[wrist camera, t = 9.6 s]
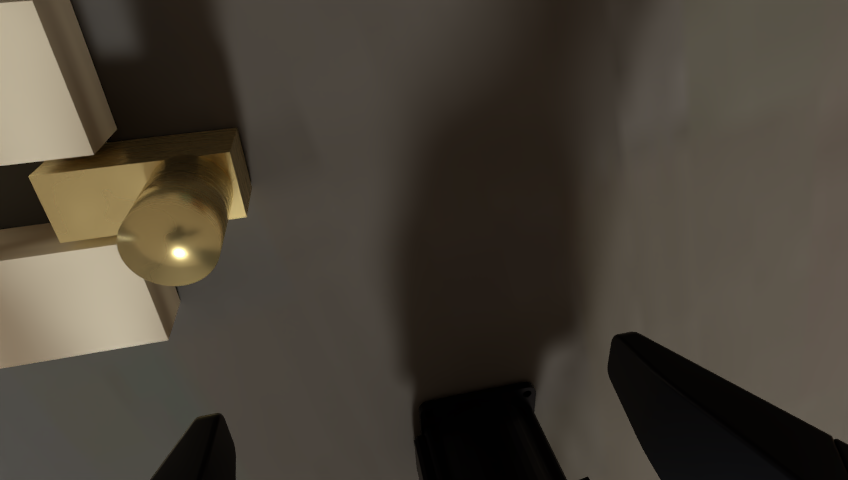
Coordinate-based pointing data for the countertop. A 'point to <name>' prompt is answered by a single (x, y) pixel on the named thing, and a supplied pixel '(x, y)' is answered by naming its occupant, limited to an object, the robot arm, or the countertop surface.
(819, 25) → the countertop surface
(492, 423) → the robot arm
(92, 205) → the pin
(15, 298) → the dock
